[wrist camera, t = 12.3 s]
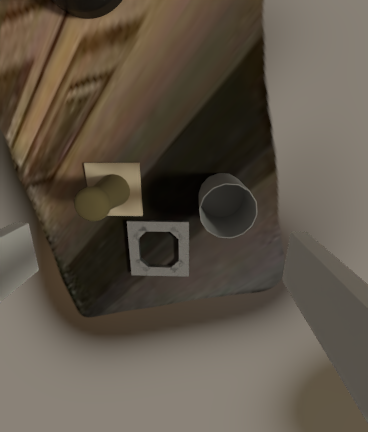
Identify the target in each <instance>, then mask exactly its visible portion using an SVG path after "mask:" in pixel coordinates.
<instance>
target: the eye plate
mask: <svg viewBox="0 0 368 432" xmlns="http://www.w3.org/2000/svg"><path fill="white" fill-rule="evenodd" d="M127 230H128V241H129V252H130V263H131V273H132V275H150V276H189V220H127ZM146 231H161V232H171V233H172V234H173V235H174V236H175V237H176V238H177V239H179V259H178V260H177V261H176V262H174V263H173V264H172V265H149V264H148V263H147V262H146V261H145V260H143V259H142V258H141V251H140V237H141V236H142V235H143V234H144V233H145V232H146Z"/></svg>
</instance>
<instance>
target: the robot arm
mask: <svg viewBox="0 0 368 432" xmlns="http://www.w3.org/2000/svg"><path fill="white" fill-rule="evenodd" d="M52 1H53V2H54V3H55V4H57V5H58V6H59V7H60V8H61V9H63V10H64V11H66V12H68V13H70V14H72V15H74V16H77V17H81V18H96V17H100V16H103V15H105V14H107V13H109V12H111V11H112V10H113V9H115V8H116V7H117V6H118V5H119V4H120V3H121V1H122V0H52ZM38 270H39V269H38V264H37V259H36V255H35V251H34V246H33V242H32V237H31V232H30V227H29V224H28V223H12V224H10V225H8V226H6V227H4V228H2V229H0V302H1V301H3V300H4V299H5V298H6V297H7V296H9V295H10V294H11V293H12V292H13V291H14V290H16V289H17V288H18V287H19V286H21V285H22V284H23V283H24V282H25V281H26V280H28V279H29V278H30V277H31V276H32V275H34V274H35V273H36V272H37V271H38ZM282 281H283V283H284V284H285V286H286V288H287V289H288V291H289V293H290V294H291V296H292V298H293V299H294V301H295V302H296V304H297V306H298V308H299V309H300V311H301V313H302V314H303V316H304V318H305V319H306V321H307V323H308V324H309V326H310V328H311V329H312V331H313V333H314V334H315V336H316V338H317V339H318V341H319V343H320V344H321V346H322V348H323V349H324V351H325V353H326V354H327V356H328V358H329V360H330V361H331V363H332V365H333V366H334V368H335V369H336V371H337V373H338V374H339V376H340V378H341V379H342V381H343V383H344V385H345V386H346V388H347V390H348V391H349V393H350V395H351V396H352V398H353V400H354V401H355V403H356V405H357V406H358V408H359V410H360V411H361V413H362V415H363V416H364V418H365V420H366V421H367V423H368V284H367V283H366V282H364V281H363V280H362V279H361V278H360V277H358V276H357V275H356V274H355V273H354V272H353V271H351V270H350V269H349V268H348V267H347V266H345V265H344V264H343V263H342V262H341V261H340V260H339V259H338V258H336V257H335V256H334V255H333V254H331V252H329V251H328V250H327V249H326V248H325V247H324V246H322V245H321V244H320V243H319V242H318V241H316V240H315V239H314V238H313V237H312V236H311V235H309V234H308V233H307V232H291V233H290V239H289V244H288V250H287V256H286V261H285V267H284V272H283V278H282Z"/></svg>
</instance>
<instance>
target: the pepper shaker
mask: <svg viewBox="0 0 368 432" xmlns="http://www.w3.org/2000/svg"><path fill="white" fill-rule="evenodd" d="M129 196H130V188H129V185H128V183H127V181H126V180H125V179H124V178H123V177H121V176H119V175H115V174H110V175H106V176H104V177H103V178H102V179H101V180H100V181H98V182H97V183H96V184H95V185H94V186H90V187H85V188H83V189H82V190H80V191H79V192H78V193H77V195H76V196H75V199H74V207H75V209H76V212H77V213H78V214H79V215H80V216H81V217H82V218H83V219H86V220H88V221H99V220H101V219H103V218H105V217H106V216H107V215H108V213H109V212H110V210H111V209H113V208H115V207H118V206H120V205H122V204H124V203H125V202H126V201H127V200H128V198H129Z"/></svg>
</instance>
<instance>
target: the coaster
mask: <svg viewBox="0 0 368 432" xmlns="http://www.w3.org/2000/svg"><path fill="white" fill-rule="evenodd" d="M84 167H85V174H86V181H87V187H90V186H94V185H95V184H96V183H97V182H98V181H100V180H101V179H102V178H103V177H104V176H106V175H110V174H115V175H119V176H121V177H123V178H124V179H125V180H126V181H127V183H128V185H129V188H130V196H129V198H128V200H127V201H126V202H125V203H124V204H122V205H120V206H118V207H115V208H113V209H111V210H110V212H109V213H108V215H107V216H143V209H142V194H141V179H140V165H139V163H84Z"/></svg>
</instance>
